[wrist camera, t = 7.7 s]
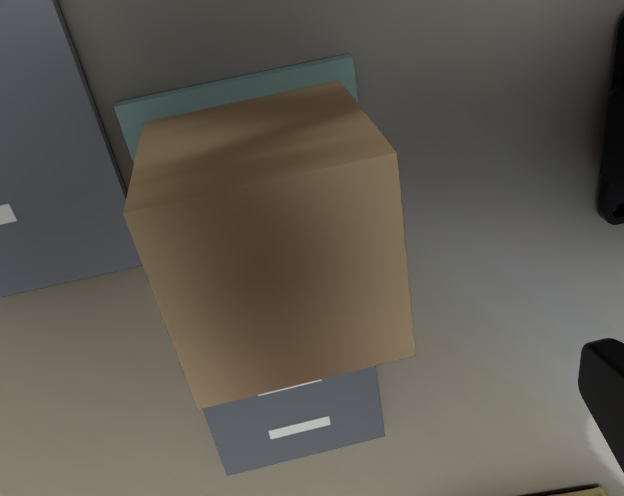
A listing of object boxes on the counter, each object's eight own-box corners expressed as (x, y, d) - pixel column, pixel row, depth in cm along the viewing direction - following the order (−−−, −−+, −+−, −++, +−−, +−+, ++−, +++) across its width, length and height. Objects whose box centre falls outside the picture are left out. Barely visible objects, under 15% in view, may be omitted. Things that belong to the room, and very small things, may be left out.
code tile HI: (364, 304, 19) (368, 312, 19) (382, 428, 22) (385, 437, 22) (183, 347, 19) (182, 356, 18) (226, 466, 22) (227, 476, 22)
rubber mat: (349, 53, 15) (353, 57, 15) (373, 249, 18) (376, 256, 18) (115, 102, 15) (113, 106, 14) (181, 293, 18) (181, 301, 17)
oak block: (339, 79, 15) (397, 152, 11) (362, 245, 18) (415, 356, 13) (143, 122, 15) (123, 214, 10) (196, 283, 17) (198, 409, 13)
